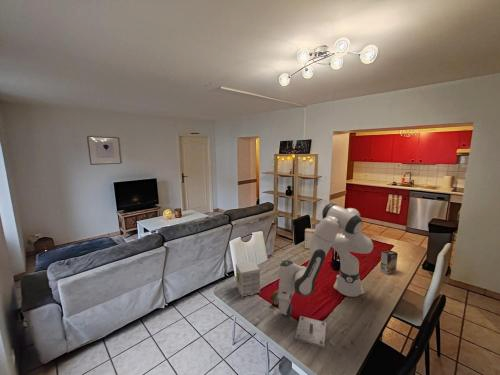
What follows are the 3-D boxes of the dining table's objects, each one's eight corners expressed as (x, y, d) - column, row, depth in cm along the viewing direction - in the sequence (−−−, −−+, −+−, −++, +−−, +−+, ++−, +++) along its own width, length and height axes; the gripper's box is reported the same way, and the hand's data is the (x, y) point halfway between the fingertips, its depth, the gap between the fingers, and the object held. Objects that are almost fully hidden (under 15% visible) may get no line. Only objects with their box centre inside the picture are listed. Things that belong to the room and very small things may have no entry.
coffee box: (387, 275, 167) (388, 254, 165) (379, 270, 173) (381, 251, 171) (396, 272, 170) (397, 253, 167) (388, 268, 176) (390, 249, 173)
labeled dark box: (283, 309, 132) (283, 300, 132) (291, 311, 131) (291, 302, 130) (281, 314, 128) (281, 305, 127) (290, 317, 126) (290, 307, 125)
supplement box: (236, 286, 156) (235, 263, 154) (253, 282, 161) (253, 260, 158) (241, 298, 144) (241, 272, 142) (260, 293, 148) (260, 268, 146)
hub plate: (300, 317, 125) (300, 311, 125) (326, 324, 120) (326, 317, 119) (294, 339, 111) (294, 332, 110) (324, 348, 105) (324, 340, 105)
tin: (287, 295, 145) (287, 283, 144) (290, 298, 143) (290, 285, 142) (270, 305, 137) (269, 292, 135) (273, 308, 134) (273, 295, 133)
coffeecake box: (321, 248, 216) (321, 229, 213) (320, 251, 209) (321, 231, 206) (305, 246, 222) (306, 227, 219) (304, 249, 215) (304, 230, 213)
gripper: (285, 278, 138) (285, 298, 140) (276, 297, 119) (276, 321, 121) (295, 280, 135) (295, 300, 137) (288, 300, 117) (288, 324, 119)
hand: (286, 310), depth 129 cm, fingers closed on labeled dark box, 5 cm apart
